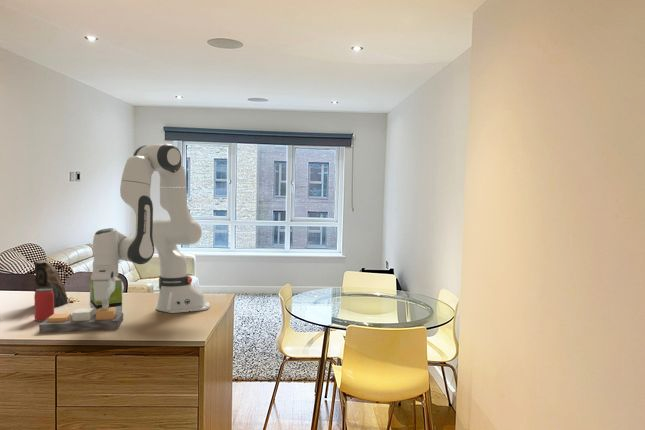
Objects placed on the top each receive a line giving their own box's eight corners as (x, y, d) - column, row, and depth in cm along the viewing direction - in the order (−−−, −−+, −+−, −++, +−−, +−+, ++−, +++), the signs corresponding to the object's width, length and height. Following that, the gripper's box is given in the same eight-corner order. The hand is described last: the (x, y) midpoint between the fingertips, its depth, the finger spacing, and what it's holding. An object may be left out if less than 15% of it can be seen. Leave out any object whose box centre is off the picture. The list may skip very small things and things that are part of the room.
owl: (49, 310, 197) (48, 263, 196) (22, 308, 199) (21, 262, 198) (69, 303, 210) (69, 259, 209) (44, 301, 211) (43, 258, 210)
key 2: (116, 315, 181) (116, 307, 180) (113, 320, 175) (113, 311, 175) (99, 316, 179) (99, 307, 179) (96, 320, 173) (96, 311, 173)
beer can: (34, 322, 179) (33, 291, 178) (35, 318, 185) (35, 288, 184) (53, 320, 182) (53, 290, 181) (54, 316, 188) (54, 286, 187)
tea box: (89, 310, 198) (88, 275, 198) (114, 306, 204) (114, 273, 204) (96, 318, 186) (96, 281, 186) (122, 314, 192) (122, 279, 192)
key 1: (71, 322, 177) (70, 313, 176) (66, 326, 171) (66, 317, 171) (53, 322, 175) (53, 314, 175) (48, 327, 169) (48, 318, 169)
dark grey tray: (123, 320, 184) (123, 312, 184) (117, 328, 172) (117, 320, 172) (50, 323, 178) (50, 315, 177) (39, 333, 166) (39, 324, 166)
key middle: (93, 316, 179) (93, 308, 178) (90, 321, 173) (90, 312, 173) (76, 317, 177) (76, 308, 177) (72, 322, 171) (72, 312, 171)
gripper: (102, 267, 185) (102, 302, 186) (90, 276, 165) (90, 314, 166) (119, 267, 187) (119, 301, 187) (109, 275, 167) (109, 314, 167)
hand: (105, 307), depth 176 cm, fingers closed
